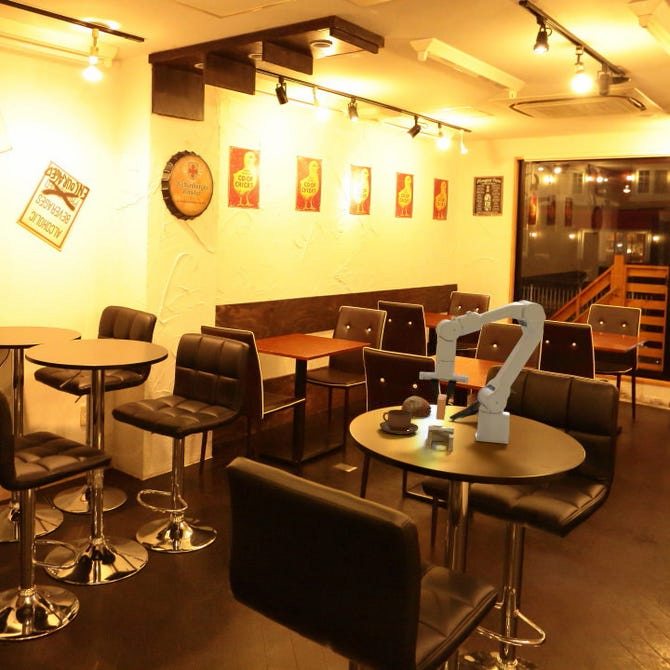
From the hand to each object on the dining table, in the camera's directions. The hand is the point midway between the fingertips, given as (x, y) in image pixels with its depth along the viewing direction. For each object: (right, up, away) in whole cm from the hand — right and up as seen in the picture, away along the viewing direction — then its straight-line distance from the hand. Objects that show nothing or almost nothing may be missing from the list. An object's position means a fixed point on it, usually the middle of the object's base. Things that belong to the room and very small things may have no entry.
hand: (441, 404), depth 218 cm
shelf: (-1, -11, -5) cm, 12 cm away
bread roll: (-4, -7, +30) cm, 31 cm away
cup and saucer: (-12, -9, +7) cm, 17 cm away
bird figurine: (+17, -9, +23) cm, 30 cm away
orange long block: (0, -4, +1) cm, 4 cm away
